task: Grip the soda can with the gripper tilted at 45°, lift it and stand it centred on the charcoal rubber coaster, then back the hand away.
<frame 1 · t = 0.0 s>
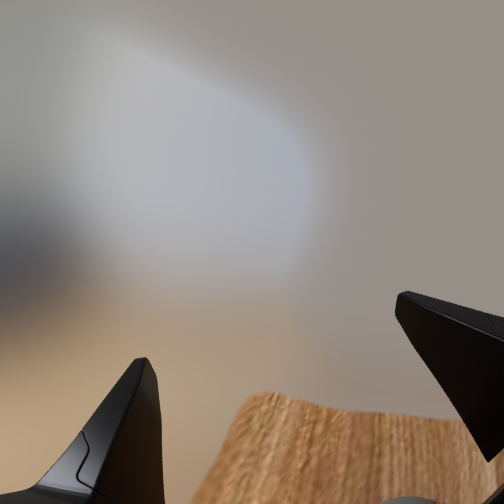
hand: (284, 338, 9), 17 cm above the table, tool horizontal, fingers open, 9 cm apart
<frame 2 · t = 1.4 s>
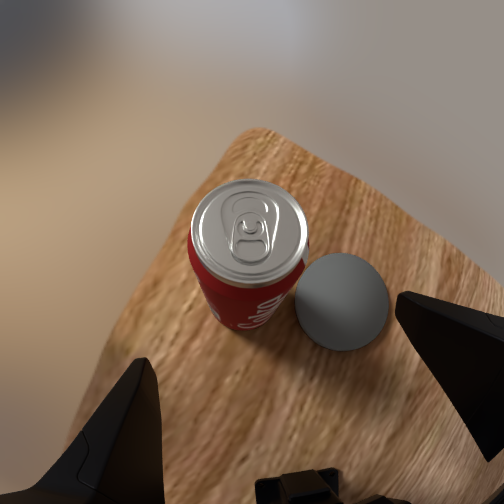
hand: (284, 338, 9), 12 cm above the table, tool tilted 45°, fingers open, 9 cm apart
soda can: (242, 298, 22), on the table
coaster: (342, 302, 22), on the table
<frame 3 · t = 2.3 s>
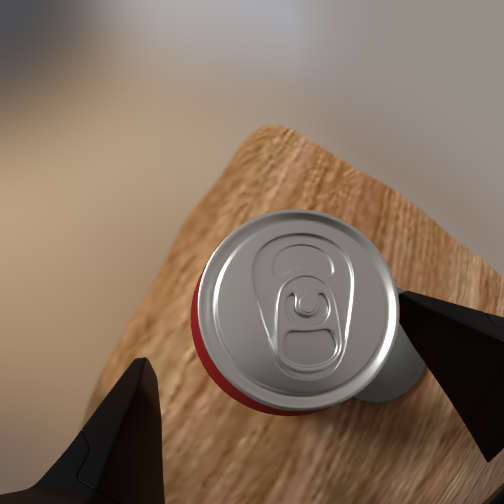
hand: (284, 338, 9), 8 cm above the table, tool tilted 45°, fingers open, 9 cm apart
soda can: (259, 344, 17), on the table
coaster: (379, 343, 17), on the table
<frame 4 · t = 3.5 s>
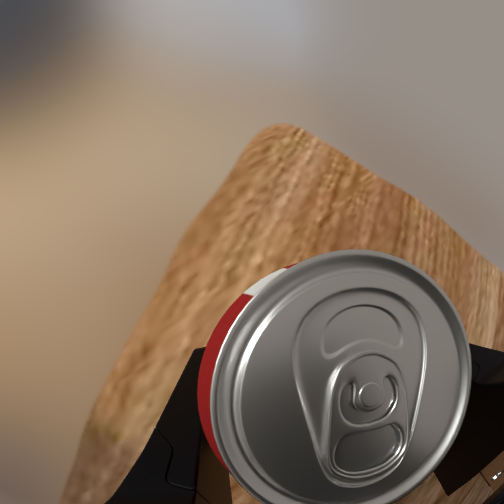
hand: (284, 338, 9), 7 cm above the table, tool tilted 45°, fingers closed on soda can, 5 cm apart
soda can: (270, 372, 15), on the table, touching gripper
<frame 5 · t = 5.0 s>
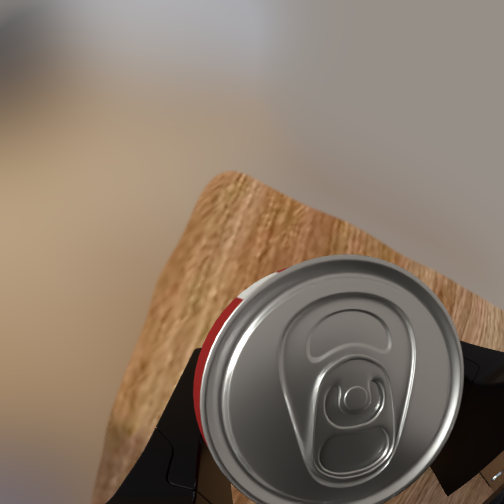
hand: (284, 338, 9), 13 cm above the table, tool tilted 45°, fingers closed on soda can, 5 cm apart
soda can: (276, 370, 15), point 6 cm above the table, touching gripper
when the fingers open (9 cm above the table, at t = 6.8 s): soda can drops 1 cm, resting on coaster.
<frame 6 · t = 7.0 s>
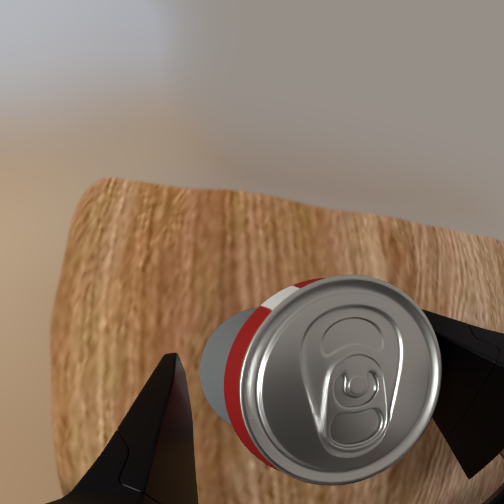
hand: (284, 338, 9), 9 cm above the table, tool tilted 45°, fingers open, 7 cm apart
soda can: (274, 370, 16), point 1 cm above the table, touching coaster
coaster: (266, 371, 17), on the table
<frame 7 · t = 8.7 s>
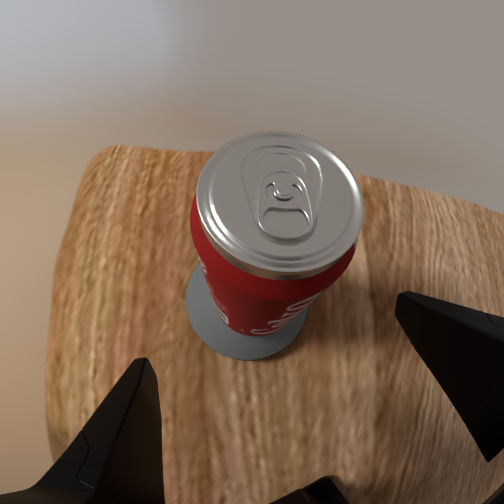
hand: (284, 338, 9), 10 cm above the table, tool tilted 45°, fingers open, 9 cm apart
soda can: (254, 298, 18), point 1 cm above the table, touching coaster
coaster: (247, 300, 19), on the table
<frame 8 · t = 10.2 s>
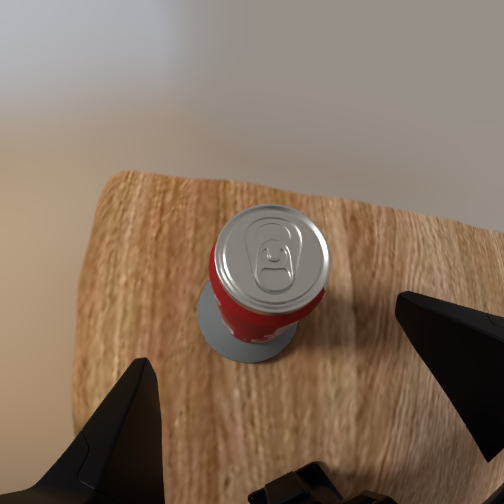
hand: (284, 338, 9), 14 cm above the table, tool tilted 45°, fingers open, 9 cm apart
soda can: (254, 311, 22), point 1 cm above the table, touching coaster
coaster: (248, 313, 23), on the table
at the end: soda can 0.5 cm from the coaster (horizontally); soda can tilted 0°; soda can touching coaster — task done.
